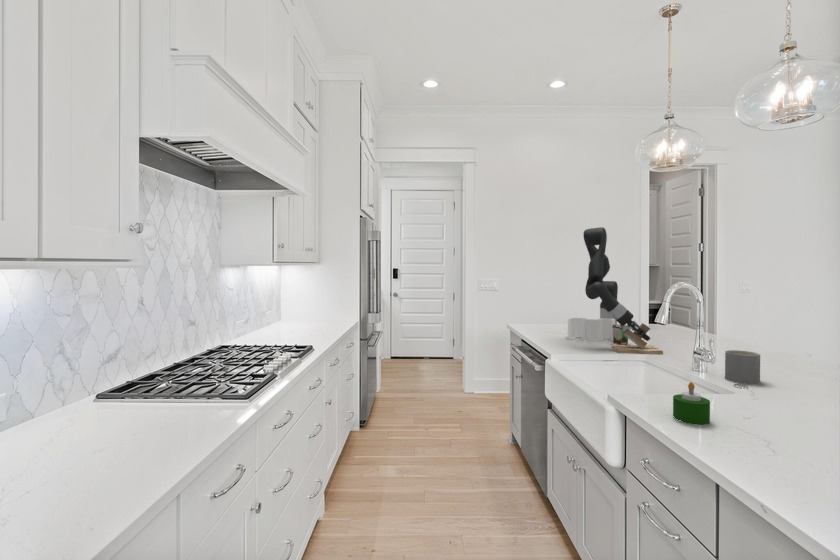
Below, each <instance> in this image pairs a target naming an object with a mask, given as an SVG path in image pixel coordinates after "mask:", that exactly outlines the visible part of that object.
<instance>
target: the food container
mask: <svg viewBox="0 0 840 560" xmlns="http://www.w3.org/2000/svg"><path fill="white" fill-rule="evenodd" d="M612 328H613V344H614V345H629V338H627V337H626V336H625V335H623V333H624V331H625V330H626V329H629V330H631V329H630V328H629V327H628V325H627V324H626V325H623V326H622V325H620V324H619V323H617V324H613V326H612Z"/></svg>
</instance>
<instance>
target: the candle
mask: <svg viewBox="0 0 840 560" xmlns="http://www.w3.org/2000/svg"><path fill="white" fill-rule="evenodd" d="M687 387H688V391H682V392H681V393H680V394H673V396H672V417H673V416H674V417H675V418H676V419H678V420H681V421H683V422H682V423H684V422H686V423H685V424H689V423H690V424H689V425H695V424H697V425H698V426H702V425H703V426H705V424H706V425H709V424H710V423H711V400H709V399H708V398H706V397H703V396H702V395H701V394H700V393H696V392H695V384H694V383H693V382H692V381H690V382H689V383H688V385H687ZM674 417H673V418H674ZM675 418H674V419H675ZM676 419H675V420H676ZM678 420H677V421H678ZM681 421H680V422H681ZM697 425H696V426H697Z"/></svg>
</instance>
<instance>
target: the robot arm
mask: <svg viewBox="0 0 840 560" xmlns="http://www.w3.org/2000/svg"><path fill="white" fill-rule="evenodd" d="M582 234H583V236H582V237H583V241H584V245H585V247H586V250H587V252H588V255H589V259H590V260H589V263H588V273H587V274H588V278H587V280H586V285H585V295H586V296H587V298H589V299H590V300H597V299H598V298H600V300H601V302H600V303H599V319H600V318H608V319H615V324H618V325H622V326H623V325H627V326H628V327H629V328H630V330H631V331H632V332H633V333H634V332H636V333H638V334H639V335H640V336H642V338H641V339H642V340H644V341H645V342H649V341H650V340H651V337H650V336H649V335H648V334H647V333H645V331H643V330H642V329H641V327H640V325H639V324H638V323H637V322H636V321H635V320H632V319H634V314H633V313H632V312H631V311H630V310H628V309H627V308H626V307H625V306H624V305H623V303H622V304H621V303H620V302H619V301H618V293H619V292H618V290H619V289H618V288H619V286H618V285H619V284H618V282H617V281H615V280H611V281H610V280H604V278H605V277H606V276H607V274H608V273H609V272H610V269H611V264H610V260H609V258H608V256H607V254H606V250H607V249H606V248H607V239H608V234H607V230H606V228H605V227H602V226H601V227H594V228H593V227H592V228H587V229H585V230H584V231H583V233H582ZM597 246H598V248H597ZM640 331H642V332H640ZM639 332H640V333H639Z"/></svg>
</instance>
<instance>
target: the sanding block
mask: <svg viewBox="0 0 840 560" xmlns="http://www.w3.org/2000/svg"><path fill="white" fill-rule="evenodd" d="M639 326H640V327H641V329H642V330H643V331H645V333H646V334H647V333H648V332H649V331H650V330H651V328H650V326H648V325H647V324H645V323H641V324H640V325H639ZM640 332H642V331H640ZM640 332H639V333H640ZM623 335H625V336H626V337H627V338H628V340H629V341H631V342H632V343H634V345H638V346H639V347H640V348H642V349H643V348H644V347H645V346H648V343H647V341H646V340H644V339H643V338H642V336H640V335H639V334H638V333H636V332H634V331H633V330H632V329H630V330H629V329H626V330H625V331H624V333H623Z"/></svg>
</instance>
